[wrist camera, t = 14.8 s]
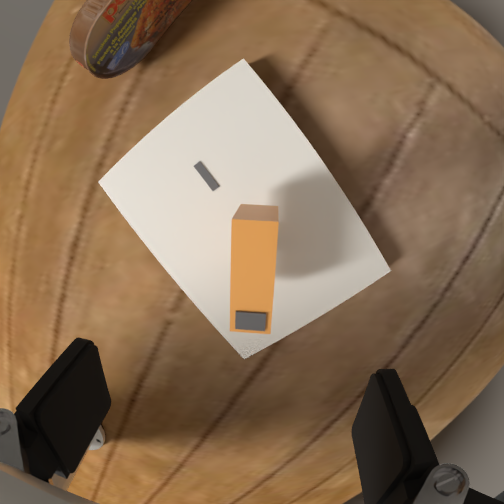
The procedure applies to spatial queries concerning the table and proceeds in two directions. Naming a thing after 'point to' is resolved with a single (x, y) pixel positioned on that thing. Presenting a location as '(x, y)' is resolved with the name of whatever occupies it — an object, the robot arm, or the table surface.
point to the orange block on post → (253, 267)
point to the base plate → (243, 192)
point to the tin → (119, 32)
